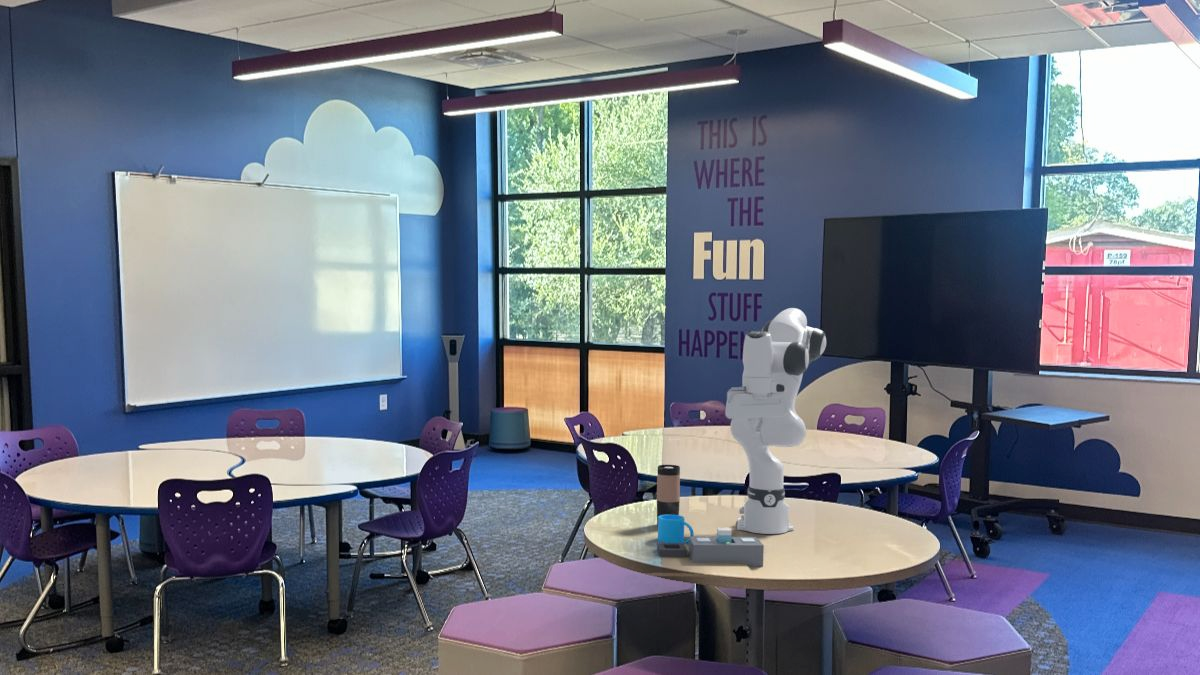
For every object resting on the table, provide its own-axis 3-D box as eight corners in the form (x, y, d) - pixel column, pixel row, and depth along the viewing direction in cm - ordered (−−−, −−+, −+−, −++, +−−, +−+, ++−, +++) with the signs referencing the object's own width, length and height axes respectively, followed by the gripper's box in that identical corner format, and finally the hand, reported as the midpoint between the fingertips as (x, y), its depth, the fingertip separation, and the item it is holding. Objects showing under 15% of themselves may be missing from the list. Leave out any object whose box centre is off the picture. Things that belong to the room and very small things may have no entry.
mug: (652, 543, 299) (653, 517, 299) (666, 538, 306) (666, 513, 306) (686, 550, 293) (687, 523, 292) (699, 544, 299) (700, 518, 299)
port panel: (688, 556, 284) (689, 535, 284) (756, 557, 285) (756, 535, 285) (693, 565, 274) (693, 543, 274) (763, 566, 275) (763, 543, 275)
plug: (716, 554, 281) (717, 527, 281) (728, 554, 281) (729, 527, 281) (718, 558, 278) (719, 530, 277) (731, 558, 278) (731, 530, 278)
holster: (656, 553, 288) (657, 543, 288) (683, 553, 288) (683, 543, 288) (659, 560, 280) (659, 549, 280) (687, 560, 280) (687, 550, 280)
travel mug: (680, 523, 327) (681, 465, 327) (678, 528, 320) (679, 468, 319) (657, 522, 329) (658, 464, 328) (655, 527, 321) (656, 467, 321)
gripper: (733, 388, 278) (732, 436, 279) (791, 386, 287) (791, 432, 287) (721, 386, 284) (720, 433, 284) (779, 384, 292) (778, 429, 293)
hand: (756, 432), depth 286 cm, fingers closed
